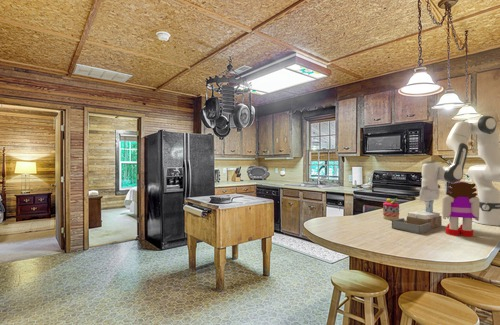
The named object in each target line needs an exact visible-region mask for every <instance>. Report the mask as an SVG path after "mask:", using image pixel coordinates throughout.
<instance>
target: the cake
mask: <svg viewBox="0 0 500 325" xmlns="http://www.w3.org/2000/svg"><path fill="white" fill-rule="evenodd" d="M396 201H398V198H397V197H396V198H394V199H393V200H392V199H391V198H387V199H386V202H383V203H382V205H383V207H382V210H383V211H382V215H383V216H382V217H383V219H384V220H388V221H392V220H397V219H400V204H399V203H398V202H396Z"/></svg>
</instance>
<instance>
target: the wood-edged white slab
mask: <svg viewBox="0 0 500 325" xmlns="http://www.w3.org/2000/svg"><path fill="white" fill-rule="evenodd" d="M442 219H443V215H440V216H439V217H435V218H430V219H420V218H414V217H408V215H406V223H409V224H414V225H423V224H426V223H431V229H434V228H437V227H441V226H442Z"/></svg>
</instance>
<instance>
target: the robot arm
mask: <svg viewBox="0 0 500 325" xmlns="http://www.w3.org/2000/svg"><path fill="white" fill-rule="evenodd" d="M471 135H476V136H477V156H478V158H480V159H481V160H483V161H484V162H485V164H476V165H475V164H474V165H471V166H469V168H468V169H467V175H468V176H467V177H469V179H471V180H472V181H473V183H475V184H476V186H475V187H476V189H477V190H476V191H477V197H478V198H479V200H480V201H479V217H480V218H479V221H477V220H475V219H474V218H472V222H474V223H477V224H481V225H486V226H500V190H499V189H498V187H495V185H494V184H493V182H494V183H495V182H496V183H500V136H499V132H498V129H497V120H496V119H495V118H494V117H493V116H490V115H483V116H475V117H472V118H471V117H470V118H465V119H463V120H461V121H457V122H455V124H454V125H453V126H452V128H451V129H450V132H449V133H448V136H447V138H446V140H445V142H446V143H445V145H446V146H447V147H448V149H450V150H451V151H453V152H454V156H453V157H454V158H453V160H452V164H451V165H449V166H446V165H445V166H444V165H441V164H439V163H438V162H437V161H435V160H431V161H430V160H429V161H425V162H423V163H422V165H421V166H422V167H421V177H422V178H421V189H420V190H419V198H418V199H419V201H420V202H424V204H425V209H426V208H429V207H430V205H429V201H433V204H434V203H435V202H434V201H435V200H439V198H440V189H441V185H440V184H439V182H438V181H440V182H447V183H455V182H459V181H461V180H462V179H463V177H464V168H465V164H466V161H467V157H468V153H469V146H468V142H469V140H470V137H471Z"/></svg>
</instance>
